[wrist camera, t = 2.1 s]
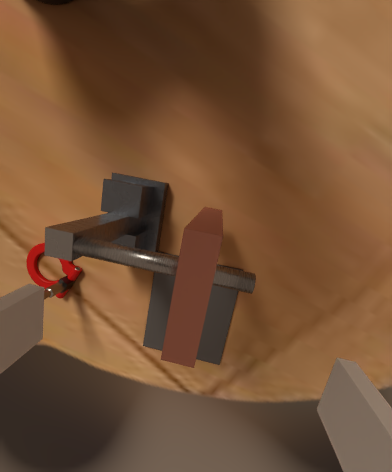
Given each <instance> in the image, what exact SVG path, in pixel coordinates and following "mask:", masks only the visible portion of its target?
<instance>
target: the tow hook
mask: <svg viewBox="0 0 392 472" xmlns="http://www.w3.org/2000/svg"><path fill="white" fill-rule="evenodd" d="M43 252H45V243H42V244H38V245H36V246H34V247H33V248H32V249H31V250H30V252H29V254H28V256H27V269H28V272H29V275H30V276H31V278H32V279H33V281H34V282H35V283H36V284H37V285H39V286H41V287H44V289H45V291H44V300H45V299H46V298H48V297H53V296H55V295H56V297H58V298H63V297H64V296H65V294H66V293H67V291H68V290H69V289H70V288H71V287H72V285H73V284H74V282H75V281H76V278H77V277H78V275H79V274H80V272H81V271H82V269H81V267H79V266H75V265H73V264H72V261H68V260H64V259H59V258H58V259H59V260H60V262H61V264H62V269H63V272H64V273H65V274H66V275H67V276H65V277H63V278H61V279H60V280H57V281H50V280H48V279H46V278H44V277H43V276H42V275H41V274H40V272H39V270H38V267H37V260H38V257H39V256H40V255H41V254H42V253H43Z"/></svg>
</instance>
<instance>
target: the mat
mask: <svg viewBox="0 0 392 472" xmlns="http://www.w3.org/2000/svg"><path fill="white" fill-rule="evenodd" d="M157 253H162V252H157ZM162 254H167V253H162ZM167 255H171V256H176V255H172V254H167ZM176 257H179V256H176ZM217 266H222V265H218V264H217ZM222 267H226V268H231V267H227V266H222ZM231 269H236V268H231ZM236 270H240V271H243V270H241V269H236ZM175 278H176V277H175V276H170V275H166V274H161V273H157V272H154V278H153V285H152V291H151V298H150V304H149V311H148V317H147V324H146V330H145V337H144V343H143V346H146V347H150V348H154V349H158V350H163V344H164V339H165V333H166V328H167V322H168V317H169V311H170V305H171V300H172V294H173V289H174V283H175ZM237 294H238V291H237V290H233V289H228V288H224V287H219V286H215V285H212V289H211V293H210V298H209V302H208V307H207V311H206V316H205V320H204V325H203V329H202V334H201V338H200V343H199V347H198V352H197V356H196V359H198V360H202V361H206V362H210V363H214V364H218V365H220V361H221V357H222V353H223V349H224V345H225V341H226V337H227V333H228V329H229V325H230V321H231V317H232V313H233V310H234V306H235V302H236V298H237Z"/></svg>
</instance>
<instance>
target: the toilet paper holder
mask: <svg viewBox="0 0 392 472" xmlns="http://www.w3.org/2000/svg"><path fill="white" fill-rule="evenodd" d="M168 184H169V183H164V182H159V181H154V180H148V179H143V178H138V177H133V176H128V175H123V174H117V173H112V180H110V179H104V181H103V192H102V204H101V211H105V212H108V213H107V214H102V215H98V216H93V217H89V218H85V219H80V220H76V221H71V222H67V223H62V224H58V225H53V226H49V227H45V254H44V255H46V256H50V257H55V258H59V259H64V260H68V261H73V260H75V259H77V258H79V257H81V256H85V257H90V258H94V259H99V260H103V261H108V262H112V263H117V264H121V265H126V266H130V267H135V268H139V269H143V270H148V271H152V272H157V273H161V274H166V275H170V276H175V277H176V272H177V266H178V261H179V257H176V256H171V255H167V254H162V253H157V252H158V249H159V242H160V236H161V229H162V223H163V216H164V210H165V203H166V197H167V190H168ZM255 279H256V276H255V274H254V273H249V272H245V271H240V270H236V269H231V268H226V267H222V266H216V271H215V275H214V280H213V284H212V285H215V286H219V287H224V288H228V289H233V290H237V291H242V292H246V293H251V294H252V292H253V290H254V286H255Z"/></svg>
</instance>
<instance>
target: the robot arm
mask: <svg viewBox="0 0 392 472" xmlns="http://www.w3.org/2000/svg"><path fill="white" fill-rule="evenodd" d="M38 1H40V2H43V3H48V4H63V3H67V2H70V1H72V0H38ZM43 311H44V287H41V286H36V285H32V284H27V285H25V286H23V287H21V288H19V289H17V290H15V291H13V292H11V293H9V294H7V295H5V296H3V297H1V298H0V373H2V372H3V371H4V370H5V369H7V368H8V367H9V366H10V365H12V364H13V363H14V362H15V361H16V360H18V359H19V358H20V357H21V356H22V355H24V354H25V353H26V352H27V351H28V350H30V349H31V348H32V347H33V346H34V345H36V344H37V343H38V342H39V341H40V340H42V338H43ZM317 411H318V414H319V416H320V418H321V421H322V423H323V425H324V428H325V430H326V432H327V434H328V437H329V439H330V442H331V444H332V446H333V448H334V451H335V453H336V455H337V458H338V460H339V462H340V465H341V467H342V470H343V472H392V408H391V407H390V405H389V404H388V403H387V401H386V400H385V399H384V398H383V396H382V395H381V394H380V392H379V391H378V390H377V389H376V387H375V386H374V385H373V383H372V382H371V381H370V380H369V378H368V377H367V376H366V374H365V373H364V372H363V371H362V369H361V368H360V367H359V365H358V364H357V363H356V362H354V361H350V360H346V359H341V358H336V361H335V364H334V366H333V369H332V371H331V374H330V376H329V379H328V382H327V384H326V387H325V389H324V392H323V394H322V397H321V400H320V402H319V405H318V407H317Z"/></svg>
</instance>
